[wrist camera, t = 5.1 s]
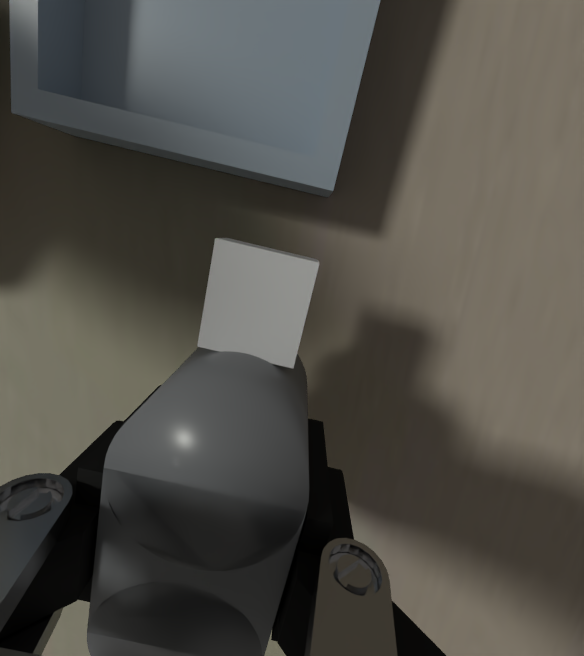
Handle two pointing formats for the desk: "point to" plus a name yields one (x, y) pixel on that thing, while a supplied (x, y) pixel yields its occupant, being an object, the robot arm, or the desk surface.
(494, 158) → the desk surface
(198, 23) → the tray
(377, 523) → the desk surface
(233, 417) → the graphite plug
